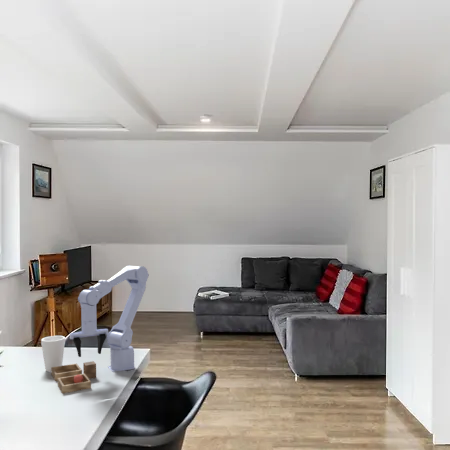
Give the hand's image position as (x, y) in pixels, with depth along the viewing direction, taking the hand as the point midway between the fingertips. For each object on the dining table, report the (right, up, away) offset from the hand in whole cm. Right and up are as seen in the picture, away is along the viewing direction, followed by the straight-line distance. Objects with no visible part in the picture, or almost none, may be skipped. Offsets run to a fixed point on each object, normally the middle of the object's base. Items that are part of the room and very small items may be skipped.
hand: (89, 354), depth 178 cm
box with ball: (-3, -9, -10) cm, 14 cm away
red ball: (-2, -9, -7) cm, 12 cm away
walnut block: (0, -9, 0) cm, 9 cm away
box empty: (-10, -9, +3) cm, 14 cm away
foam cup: (-19, -10, +12) cm, 24 cm away
